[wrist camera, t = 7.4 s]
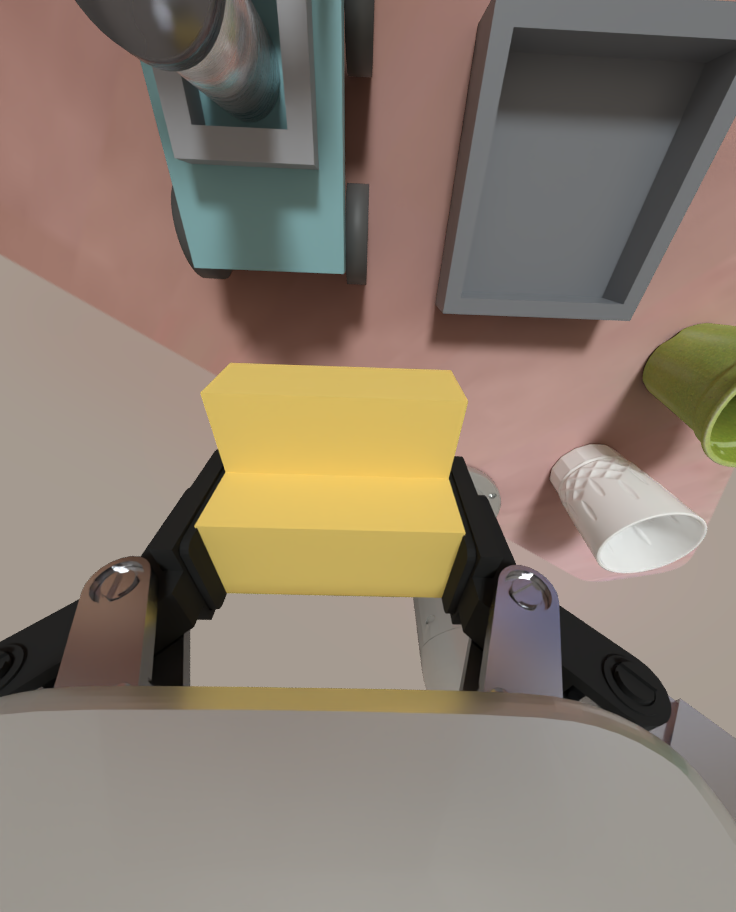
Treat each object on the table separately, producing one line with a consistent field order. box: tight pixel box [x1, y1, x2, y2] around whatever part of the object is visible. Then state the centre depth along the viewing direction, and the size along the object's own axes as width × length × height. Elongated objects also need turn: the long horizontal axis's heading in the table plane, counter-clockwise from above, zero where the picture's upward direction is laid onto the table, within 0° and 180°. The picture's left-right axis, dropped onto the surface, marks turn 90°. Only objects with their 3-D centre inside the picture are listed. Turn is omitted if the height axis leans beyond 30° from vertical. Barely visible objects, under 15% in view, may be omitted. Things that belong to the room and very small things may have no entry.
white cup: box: [550, 444, 707, 573], centre depth 29 cm, size 8×8×10 cm
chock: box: [194, 363, 468, 598], centre depth 9 cm, size 6×6×4 cm
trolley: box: [140, 0, 374, 285], centre depth 13 cm, size 14×10×14 cm
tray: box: [436, 0, 736, 321], centre depth 18 cm, size 13×13×3 cm
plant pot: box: [643, 323, 736, 467], centre depth 23 cm, size 9×9×9 cm
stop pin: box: [75, 0, 280, 122], centre depth 9 cm, size 4×4×8 cm
